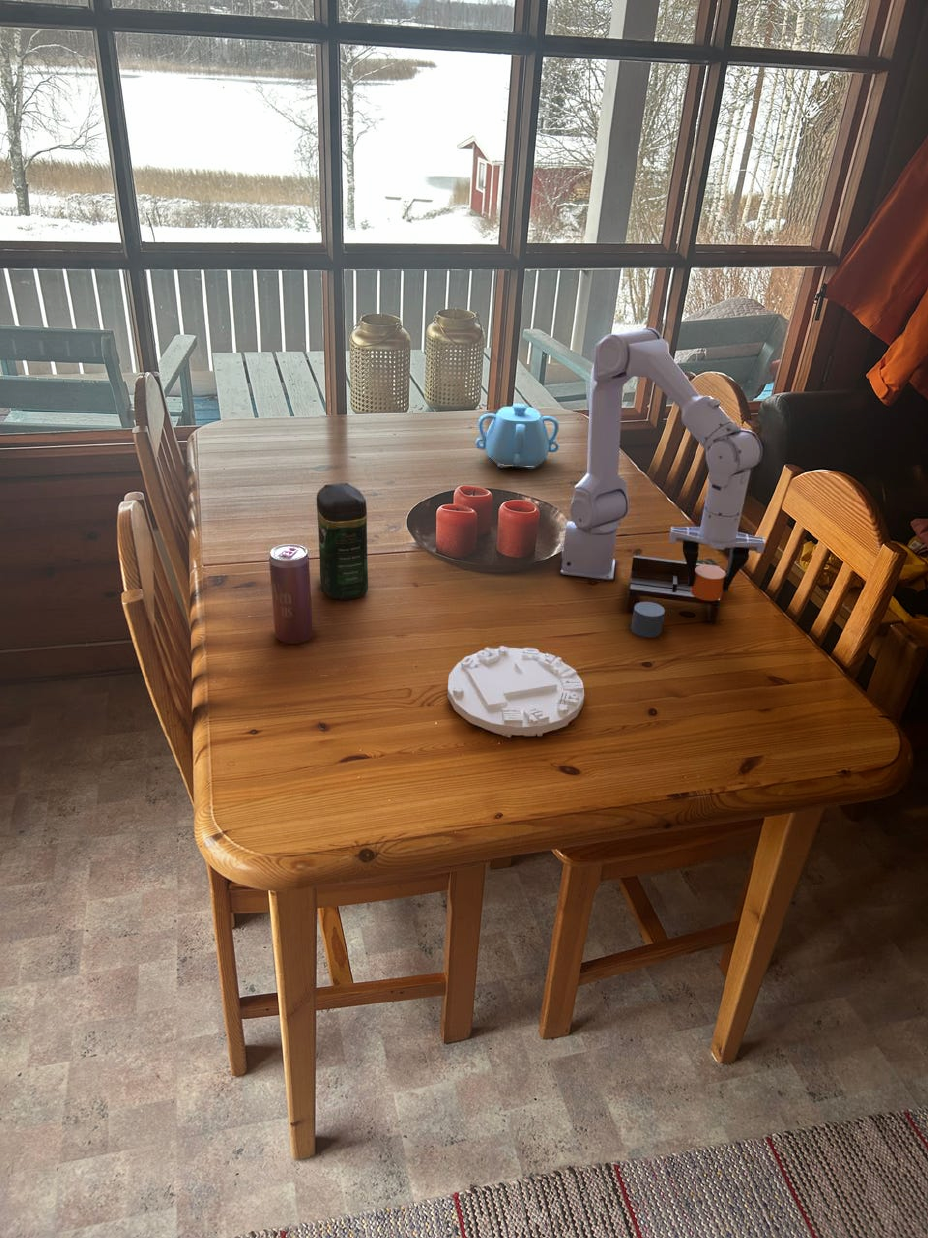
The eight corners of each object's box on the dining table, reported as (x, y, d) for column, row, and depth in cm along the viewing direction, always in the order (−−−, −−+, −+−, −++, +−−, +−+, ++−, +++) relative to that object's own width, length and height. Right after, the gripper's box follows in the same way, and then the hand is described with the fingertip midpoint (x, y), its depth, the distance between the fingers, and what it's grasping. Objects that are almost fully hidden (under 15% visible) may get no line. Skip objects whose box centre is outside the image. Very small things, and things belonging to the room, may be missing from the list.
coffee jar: (373, 598, 158) (372, 498, 148) (328, 604, 155) (323, 504, 146) (359, 572, 166) (357, 476, 156) (316, 578, 163) (311, 481, 154)
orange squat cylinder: (690, 598, 148) (694, 576, 146) (690, 584, 152) (694, 562, 150) (722, 602, 147) (727, 580, 145) (721, 588, 151) (725, 566, 149)
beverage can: (319, 630, 148) (315, 547, 141) (302, 648, 143) (296, 564, 136) (286, 623, 150) (280, 540, 142) (268, 641, 145) (261, 556, 137)
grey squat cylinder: (630, 635, 151) (633, 614, 149) (631, 620, 155) (634, 599, 153) (661, 639, 150) (664, 618, 148) (661, 624, 154) (665, 603, 152)
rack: (626, 612, 157) (631, 578, 154) (628, 587, 165) (633, 555, 161) (715, 623, 155) (722, 590, 152) (713, 598, 162) (720, 565, 159)
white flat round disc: (450, 656, 143) (451, 641, 141) (576, 662, 143) (578, 647, 141) (444, 736, 126) (445, 719, 124) (587, 743, 126) (590, 726, 124)
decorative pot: (564, 465, 215) (570, 409, 208) (512, 479, 206) (516, 420, 199) (519, 444, 226) (524, 390, 219) (468, 456, 217) (471, 400, 210)
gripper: (675, 513, 140) (661, 591, 147) (773, 525, 137) (754, 603, 144) (675, 496, 146) (662, 571, 153) (769, 506, 143) (751, 582, 150)
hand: (707, 585), depth 149 cm, fingers closed on orange squat cylinder, 5 cm apart
